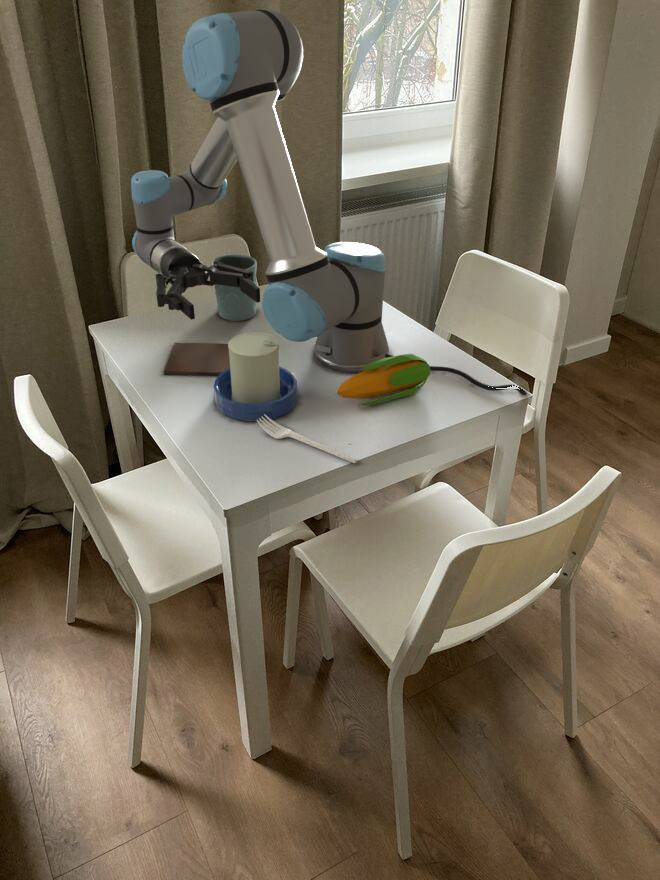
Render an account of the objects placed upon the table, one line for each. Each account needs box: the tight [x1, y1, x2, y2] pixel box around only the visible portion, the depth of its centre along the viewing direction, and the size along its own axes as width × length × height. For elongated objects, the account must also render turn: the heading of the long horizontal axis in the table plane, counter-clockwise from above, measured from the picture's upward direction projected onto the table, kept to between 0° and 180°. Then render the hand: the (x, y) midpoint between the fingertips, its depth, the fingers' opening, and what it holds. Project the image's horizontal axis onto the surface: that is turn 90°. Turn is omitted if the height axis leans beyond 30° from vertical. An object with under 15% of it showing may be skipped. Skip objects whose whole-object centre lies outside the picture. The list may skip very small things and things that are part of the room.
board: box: [163, 342, 230, 377], centre depth 151 cm, size 18×12×1 cm, turn 89°
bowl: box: [213, 365, 298, 422], centre depth 139 cm, size 15×15×4 cm
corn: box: [336, 353, 431, 407], centre depth 139 cm, size 7×8×20 cm
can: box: [227, 331, 281, 404], centre depth 136 cm, size 9×9×12 cm
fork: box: [256, 414, 358, 464], centre depth 128 cm, size 3×20×2 cm, turn 56°
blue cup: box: [210, 253, 258, 322], centre depth 167 cm, size 10×10×12 cm
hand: (226, 303), depth 137 cm, fingers open, 13 cm apart
